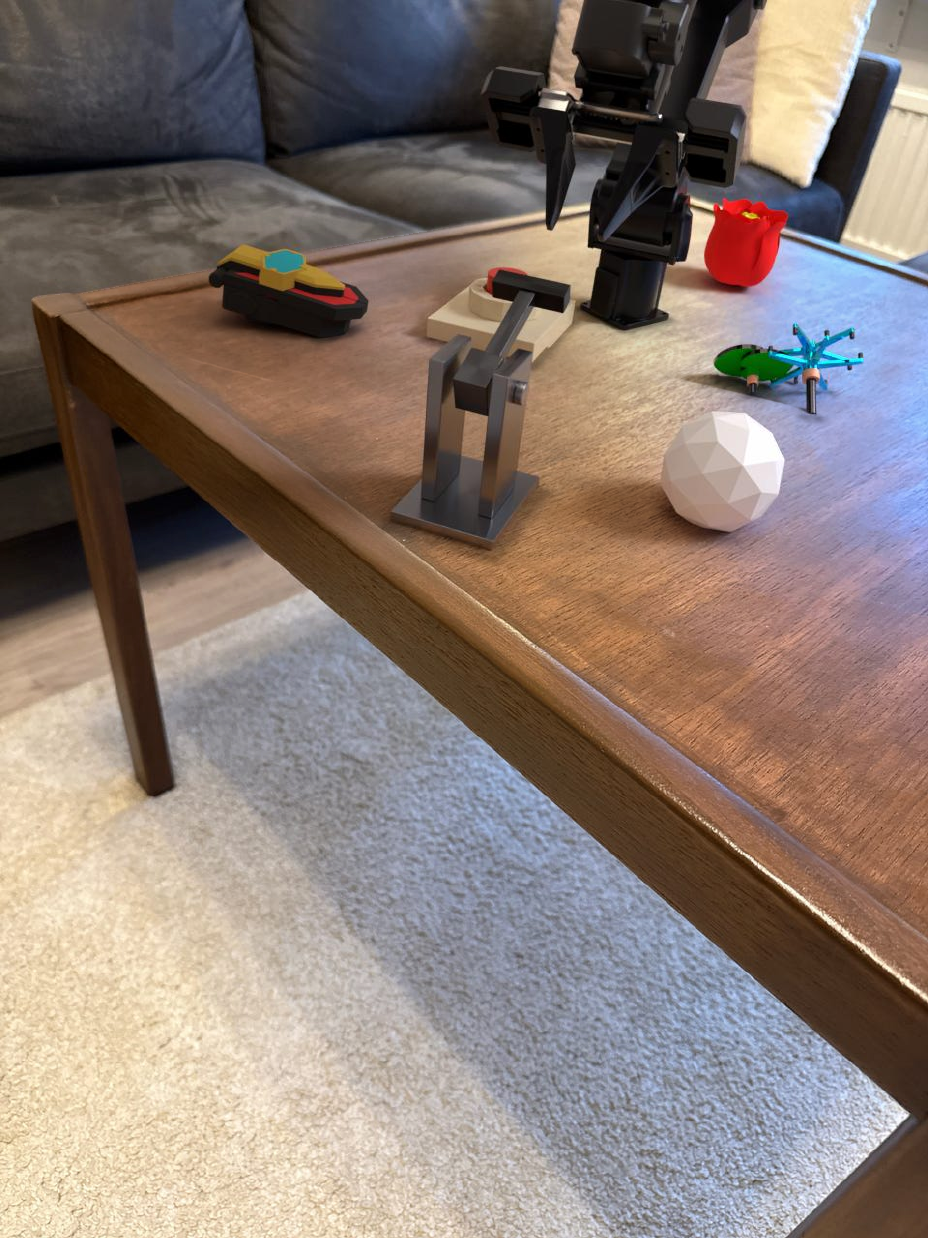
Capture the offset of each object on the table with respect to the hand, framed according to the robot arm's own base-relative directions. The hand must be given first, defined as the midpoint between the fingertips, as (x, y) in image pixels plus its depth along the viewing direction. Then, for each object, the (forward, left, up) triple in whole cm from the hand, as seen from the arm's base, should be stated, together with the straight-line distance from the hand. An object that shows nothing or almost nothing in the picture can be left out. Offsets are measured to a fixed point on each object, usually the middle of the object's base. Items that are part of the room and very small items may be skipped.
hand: (574, 232), depth 68 cm
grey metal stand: (+15, +9, -14) cm, 22 cm away
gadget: (+10, -24, -14) cm, 29 cm away
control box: (-6, -14, -14) cm, 20 cm away
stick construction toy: (-19, +8, -14) cm, 25 cm away
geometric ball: (+2, +18, -14) cm, 23 cm away
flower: (-38, -13, -14) cm, 43 cm away
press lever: (+11, +7, -4) cm, 14 cm away
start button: (-6, -14, -10) cm, 18 cm away
